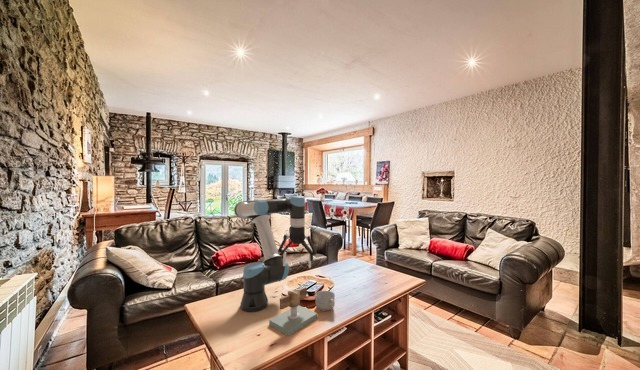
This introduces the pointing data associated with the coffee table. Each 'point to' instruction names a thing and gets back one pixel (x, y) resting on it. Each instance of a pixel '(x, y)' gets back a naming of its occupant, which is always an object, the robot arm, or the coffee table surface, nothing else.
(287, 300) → the knob
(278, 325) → the grey-green base
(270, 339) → the coffee table surface
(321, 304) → the teacup
